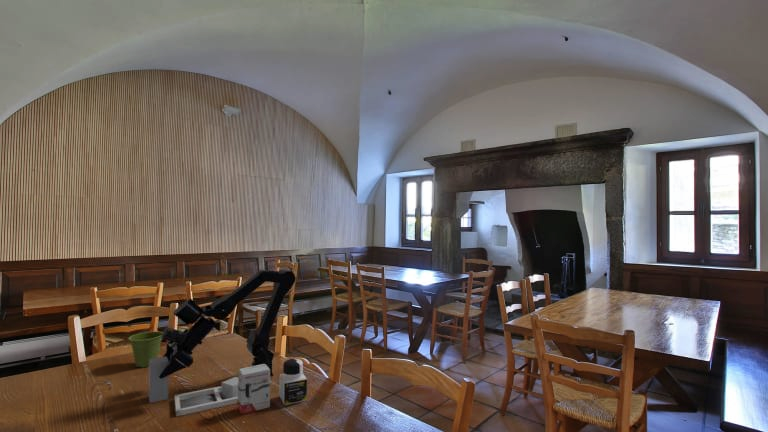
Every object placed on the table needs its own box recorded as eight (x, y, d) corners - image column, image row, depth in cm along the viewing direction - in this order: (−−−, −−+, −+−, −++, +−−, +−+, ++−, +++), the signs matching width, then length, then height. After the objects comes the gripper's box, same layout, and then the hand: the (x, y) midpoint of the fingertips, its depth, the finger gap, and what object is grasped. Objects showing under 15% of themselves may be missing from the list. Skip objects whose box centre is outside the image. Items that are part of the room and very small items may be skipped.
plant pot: (155, 356, 162) (155, 329, 162) (169, 363, 155) (169, 334, 155) (122, 365, 152) (123, 336, 152) (136, 372, 145) (136, 342, 145)
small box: (235, 390, 130) (235, 375, 130) (247, 394, 128) (247, 379, 128) (220, 397, 125) (220, 382, 126) (232, 401, 123) (232, 386, 123)
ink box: (241, 415, 114) (241, 374, 114) (237, 408, 118) (237, 368, 118) (270, 407, 119) (270, 368, 119) (265, 400, 123) (265, 363, 123)
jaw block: (166, 393, 128) (166, 356, 128) (168, 399, 124) (168, 361, 124) (148, 397, 125) (149, 359, 125) (149, 403, 121) (150, 364, 121)
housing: (247, 385, 134) (247, 380, 134) (255, 399, 124) (255, 394, 124) (174, 400, 123) (174, 395, 123) (176, 416, 113) (176, 411, 113)
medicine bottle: (284, 405, 120) (284, 366, 120) (279, 396, 126) (279, 359, 126) (307, 400, 123) (307, 362, 123) (300, 392, 129) (301, 355, 130)
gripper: (175, 312, 136) (136, 350, 129) (182, 324, 120) (139, 368, 114) (199, 331, 140) (163, 369, 134) (209, 346, 125) (169, 389, 118)
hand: (158, 373), depth 125 cm, fingers open, 9 cm apart
